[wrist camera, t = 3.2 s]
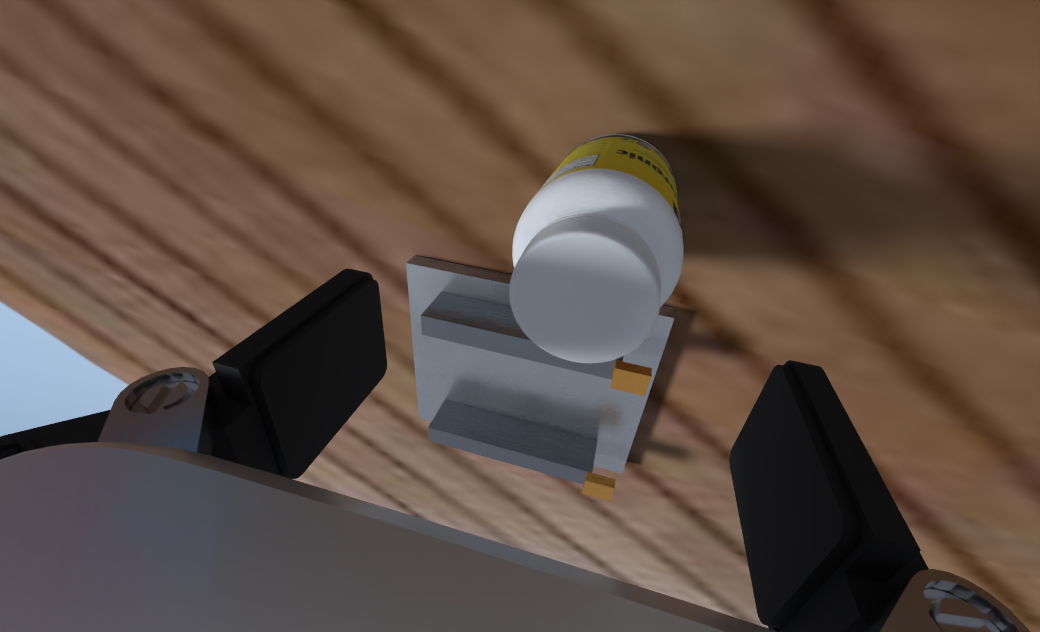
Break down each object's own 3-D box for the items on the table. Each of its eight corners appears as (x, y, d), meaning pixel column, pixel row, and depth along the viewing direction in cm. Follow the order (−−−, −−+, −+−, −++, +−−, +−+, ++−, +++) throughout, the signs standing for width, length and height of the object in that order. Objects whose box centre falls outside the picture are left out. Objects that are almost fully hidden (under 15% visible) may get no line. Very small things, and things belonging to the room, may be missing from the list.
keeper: (673, 307, 21) (676, 357, 18) (623, 461, 28) (618, 518, 25) (414, 255, 24) (374, 290, 20) (425, 407, 30) (396, 452, 27)
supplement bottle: (698, 218, 19) (726, 351, 11) (590, 269, 21) (548, 405, 13) (642, 102, 17) (624, 159, 9) (531, 173, 20) (443, 266, 12)
